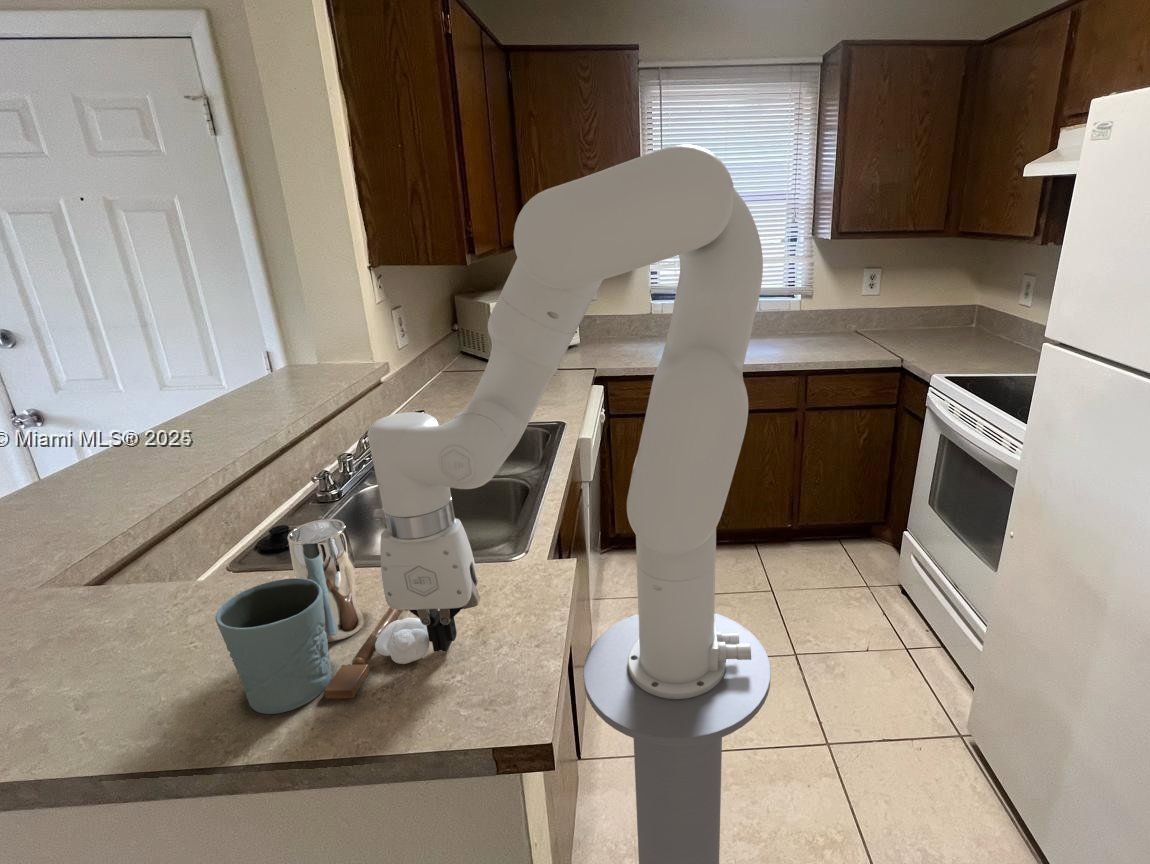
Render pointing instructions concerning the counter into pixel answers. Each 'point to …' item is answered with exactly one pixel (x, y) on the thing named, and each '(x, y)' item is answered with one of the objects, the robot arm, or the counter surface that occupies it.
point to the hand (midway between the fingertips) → (444, 644)
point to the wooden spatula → (358, 664)
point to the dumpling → (403, 640)
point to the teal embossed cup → (278, 643)
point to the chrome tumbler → (329, 572)
